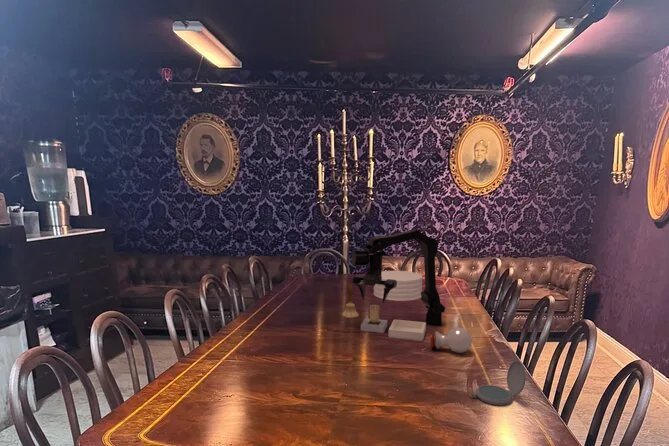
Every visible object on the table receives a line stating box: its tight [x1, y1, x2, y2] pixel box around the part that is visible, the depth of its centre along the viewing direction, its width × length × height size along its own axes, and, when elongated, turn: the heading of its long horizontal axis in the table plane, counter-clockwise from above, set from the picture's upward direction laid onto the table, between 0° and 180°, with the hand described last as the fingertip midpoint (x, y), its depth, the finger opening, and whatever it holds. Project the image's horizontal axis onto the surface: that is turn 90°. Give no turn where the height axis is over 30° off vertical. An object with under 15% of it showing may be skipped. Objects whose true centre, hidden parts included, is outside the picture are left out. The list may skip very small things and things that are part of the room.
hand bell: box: [341, 282, 359, 319], centre depth 202 cm, size 8×8×16 cm
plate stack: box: [373, 270, 423, 302], centre depth 243 cm, size 28×28×12 cm
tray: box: [388, 319, 427, 342], centre depth 176 cm, size 14×14×4 cm
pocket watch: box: [468, 360, 527, 406], centre depth 122 cm, size 10×11×15 cm
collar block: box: [360, 317, 388, 334], centre depth 184 cm, size 10×10×2 cm
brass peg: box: [369, 304, 380, 325], centre depth 183 cm, size 4×4×10 cm
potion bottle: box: [429, 326, 473, 354], centre depth 158 cm, size 9×10×15 cm
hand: (373, 301), depth 182 cm, fingers open, 9 cm apart
